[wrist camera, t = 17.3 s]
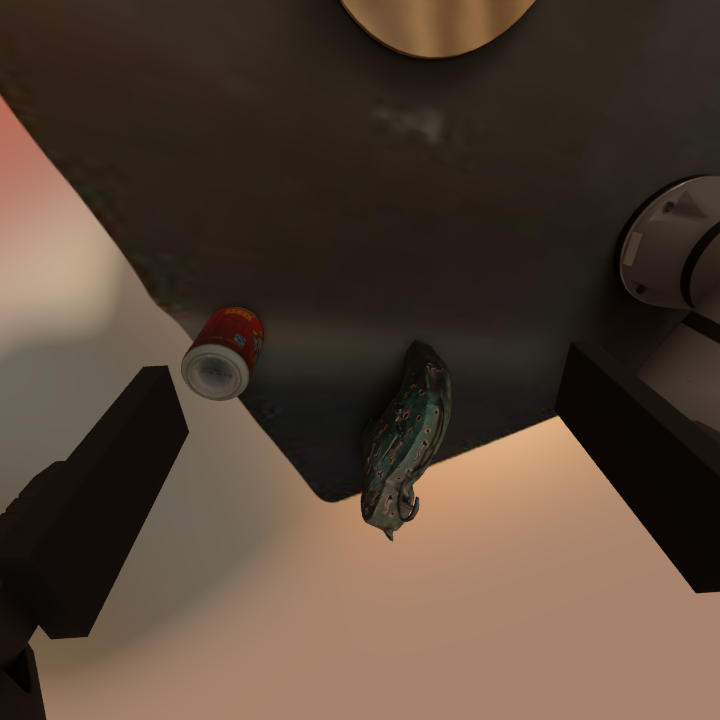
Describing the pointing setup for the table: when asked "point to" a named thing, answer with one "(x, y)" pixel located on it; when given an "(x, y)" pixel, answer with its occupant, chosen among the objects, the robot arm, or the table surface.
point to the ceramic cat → (405, 440)
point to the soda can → (224, 354)
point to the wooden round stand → (435, 23)
